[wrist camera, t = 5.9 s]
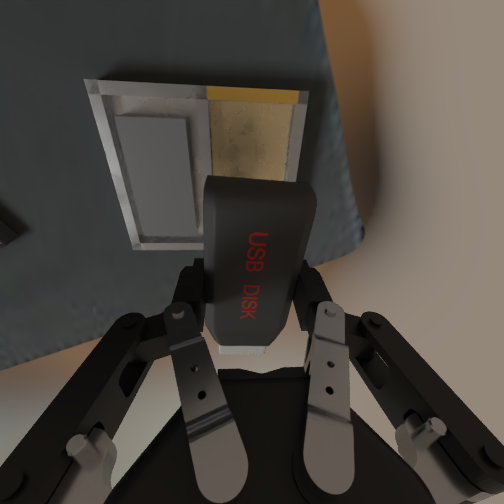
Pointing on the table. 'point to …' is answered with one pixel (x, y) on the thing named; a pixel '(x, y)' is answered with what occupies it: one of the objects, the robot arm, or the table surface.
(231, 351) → the usb drive
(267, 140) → the tray
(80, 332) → the table surface
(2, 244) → the disk drive
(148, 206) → the blank panel
